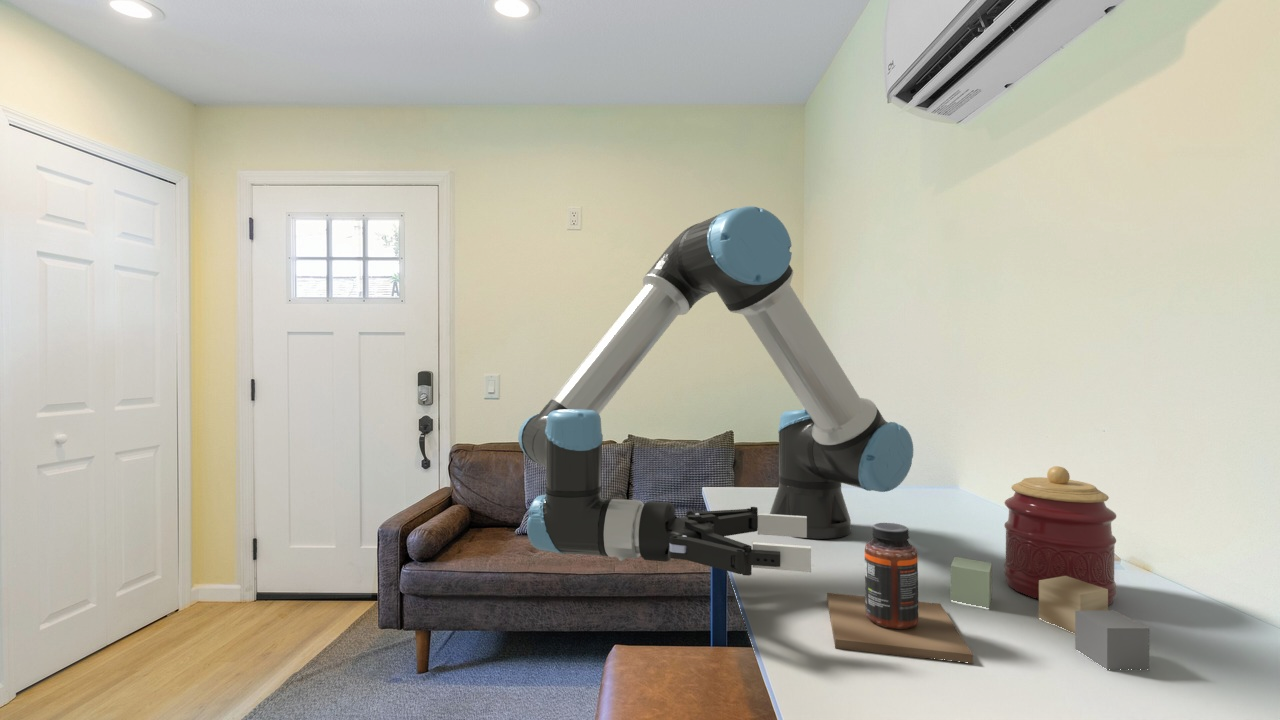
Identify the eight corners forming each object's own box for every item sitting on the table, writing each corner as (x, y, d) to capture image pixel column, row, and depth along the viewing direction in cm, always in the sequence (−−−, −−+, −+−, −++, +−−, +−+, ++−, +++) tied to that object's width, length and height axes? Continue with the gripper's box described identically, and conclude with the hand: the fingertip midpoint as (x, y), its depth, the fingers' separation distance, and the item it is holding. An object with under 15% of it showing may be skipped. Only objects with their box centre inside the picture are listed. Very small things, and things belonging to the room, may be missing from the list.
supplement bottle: (925, 619, 73) (924, 525, 73) (909, 636, 68) (909, 536, 68) (875, 606, 77) (875, 517, 77) (857, 621, 72) (857, 527, 72)
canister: (1039, 609, 79) (1040, 474, 79) (985, 574, 92) (986, 458, 92) (1141, 611, 78) (1142, 475, 78) (1072, 575, 91) (1073, 459, 91)
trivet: (827, 600, 81) (827, 592, 81) (940, 611, 78) (940, 603, 78) (835, 648, 67) (835, 639, 67) (972, 664, 64) (972, 654, 64)
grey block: (1075, 650, 68) (1075, 610, 68) (1114, 650, 68) (1114, 610, 68) (1107, 671, 63) (1107, 628, 63) (1149, 671, 63) (1149, 628, 63)
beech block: (1038, 620, 76) (1038, 580, 76) (1065, 614, 77) (1065, 575, 77) (1080, 637, 71) (1080, 594, 71) (1107, 630, 73) (1107, 589, 73)
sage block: (954, 592, 84) (954, 556, 84) (991, 599, 82) (991, 563, 82) (950, 602, 81) (950, 565, 81) (988, 610, 78) (989, 572, 78)
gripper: (661, 532, 92) (805, 542, 87) (617, 593, 68) (813, 612, 63) (661, 483, 92) (805, 490, 87) (617, 526, 68) (813, 540, 63)
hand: (809, 541), depth 75 cm, fingers open, 13 cm apart
